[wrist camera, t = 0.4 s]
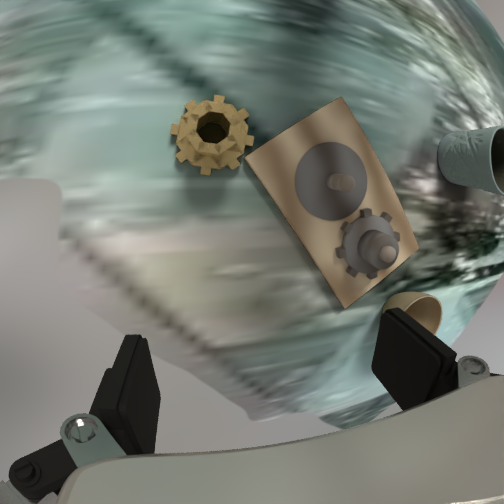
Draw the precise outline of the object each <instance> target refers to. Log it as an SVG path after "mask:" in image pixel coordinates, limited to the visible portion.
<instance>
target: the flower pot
mask: <svg viewBox="0 0 504 504" xmlns="http://www.w3.org/2000/svg"><path fill="white" fill-rule="evenodd" d="M396 307H399V308H401V309H402V310H403V311H404V312H406V313H407V314H408V315H410V316H411V317H412V318H413V319H415V320H416V321H417V322H419V323H420V324H421V325H422V326H424V327H425V328H426V329H427V330H429V331H430V332H431V333H432V334H434V335H435V334H436V333H437V331H438V329H439V326H440V324H441V320H442V306H441V303H440V301H439V300H438V299H437V298H436V297H434V296H431V295H429V294H425V293H421V292H403V293H399V294H395V295H393V296H391V297H390V298H389V299H388V300H387V301H386V303H385V305H384V307H383V311H382V314H383V313H384V312H385V310H387V309H391V308H396Z"/></svg>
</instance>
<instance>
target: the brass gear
mask: <svg viewBox="0 0 504 504" xmlns="http://www.w3.org/2000/svg"><path fill="white" fill-rule="evenodd" d="M224 98H225V96H220V95H215V96H214V101H206V100H204V101H203V102H201V103H200V104H198V105H196V103H195V102H194V101H193V100H192V101H190V102H189V103H187V104H186V105H184V106H185V108H186V109H187V111H188V112H187V113H185V114H184V115H182V116H181V120H180V125H176V124H172V127H171V132H170V134H171V135H176V136H177V141H176V144H177V145H178V147H179V148H180V149H181V151H180V152H178V153H177V154H176V155H175V156H176V157H177V158H178V160H179V161H180V163H183V162H184V161H185V160H187V159H188V160H189V162H190V163H191V164H192V166H199V167H201V171H200V174H202V175H209V176H210V174H211V168H213V169H222V168H223V167H225V166H226V165H228V166H229V168H230V169H231V170H233V169H235V168H236V167H238V166H239V165H241V164H240V163H239V162H238V160H237V159H236V158H237V157H239V156H240V155H242V154H243V153H244V148H245V146H250V147H252V146H253V141H254V136H250V135H247V132H248V125H247V124H246V122H245V121H244V119H246V118H248V117H249V116H250V115H249V114H248V113H247V111H246V110H245V109H244V108H242V109H241V110H239V111H238V112H237V110H236V109H235V108H234V106H233V105H232V104H226V103H224ZM208 122H212V123H219V124H220V125H221V126H222V127H223V129H224V130H225V131H226V136H225V139H224V140H222V141H221V142H219V143H218V144H214V143H207V142H203V141H202V139H201V138H200V137H199V131H200V128H201V127H203V126H204V125H205V124H207V123H208Z"/></svg>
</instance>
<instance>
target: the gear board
mask: <svg viewBox="0 0 504 504" xmlns="http://www.w3.org/2000/svg"><path fill="white" fill-rule="evenodd" d="M244 159H245V160H246V162H247V163H248V165H249V166H250V167H251V169H252V170H253V172H254V173H255V175H256V176H257V177H258V179H259V180H260V182H261V183H262V185H263V186H264V187H265V189H266V190H267V192H268V193H269V195H270V196H271V198H272V199H273V201H274V202H275V203H276V205H277V206H278V208H279V209H280V211H281V212H282V214H283V215H284V217H285V218H286V220H287V221H288V223H289V224H290V226H291V227H292V229H293V230H294V232H295V233H296V235H297V236H298V238H299V239H300V241H301V242H302V244H303V245H304V247H305V248H306V250H307V252H308V253H309V255H310V256H311V258H312V259H313V261H314V262H315V264H316V265H317V267H318V269H319V270H320V272H321V273H322V275H323V276H324V278H325V280H326V281H327V283H328V284H329V286H330V288H331V289H332V291H333V292H334V294H335V296H336V297H337V299H338V300H339V302H340V304H341V305H342V306H343V307H344V308H347V307H348V306H349V305H351V304H352V303H353V302H355V301H356V300H357V299H358V298H360V297H361V296H362V295H364V294H365V293H366V292H367V291H369V290H370V289H371V288H372V287H374V286H375V285H376V284H377V283H379V282H380V281H381V280H382V279H384V278H385V277H386V276H387V275H388V274H390V273H391V272H392V271H393V270H394V269H396V268H397V267H398V266H399V265H400V264H401V263H403V262H404V261H405V260H406V259H407V258H408V257H410V256H411V255H412V254H413V253H414V252H415V251H416V250H417V249H419V247H418V244H417V242H416V239H415V237H414V234H413V232H412V229H411V227H410V224H409V222H408V220H407V217H406V215H405V213H404V211H403V208H402V206H401V204H400V202H399V200H398V197H397V195H396V193H395V191H394V189H393V187H392V185H391V183H390V181H389V179H388V177H387V175H386V173H385V171H384V169H383V167H382V165H381V163H380V161H379V159H378V157H377V156H376V154H375V152H374V150H373V148H372V146H371V145H370V143H369V141H368V139H367V138H366V136H365V134H364V132H363V131H362V129H361V127H360V125H359V124H358V122H357V120H356V119H355V117H354V116H353V114H352V112H351V111H350V109H349V108H348V106H347V104H346V103H345V101H344V100H343V98H342V97H340V98H338V99H336V100H334V101H332V102H331V103H329V104H327V105H325V106H324V107H322V108H320V109H319V110H317V111H315V112H314V113H312V114H310V115H309V116H307V117H306V118H304V119H302V120H301V121H299V122H298V123H296V124H294V125H293V126H291V127H290V128H288V129H286V130H285V131H283V132H282V133H280V134H279V135H277V136H276V137H274V138H272V139H271V140H269V141H268V142H266V143H265V144H263V145H262V146H260V147H259V148H257V149H256V150H254V151H253V152H251V153H250V154H249V155H247V156H246V157H244Z"/></svg>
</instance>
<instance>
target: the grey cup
mask: <svg viewBox="0 0 504 504" xmlns="http://www.w3.org/2000/svg"><path fill="white" fill-rule="evenodd" d="M438 164H439V167H440V170H441V172H442V174H443V176H444V177H445V178H446V179H447V180H448V181H449V182H451V183H454V184H458V185H462V186H469V187H473V188H478V189H482V190H484V191H488V192H492V193H496V194H499V195H503V196H504V126H495V127H489V128H485V129H477V130H470V131H463V132H456V133H450V134H447V135H445V136H444V137H443V138H442V139H441V142H440V143H439V146H438Z"/></svg>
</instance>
